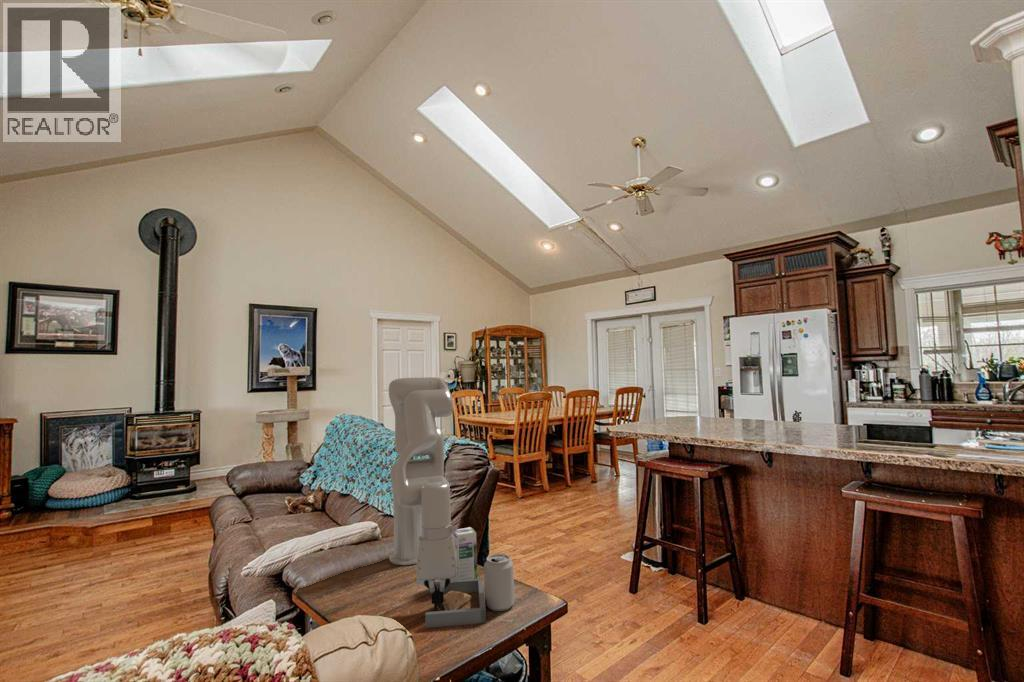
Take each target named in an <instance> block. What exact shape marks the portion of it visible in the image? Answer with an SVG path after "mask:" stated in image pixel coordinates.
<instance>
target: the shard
mask: <svg viewBox="0 0 1024 682" xmlns="http://www.w3.org/2000/svg"><path fill="white" fill-rule="evenodd" d="M471 600H472V595H470V594H469V593H463V592H458V591H453V590H452V591H450V592H448V593H447V594H444V603H441V605H442V606H443V609H444V611H447V610H459V609H460V608H462V607H464V605H465V604H466V603H469V602H470V601H471Z"/></svg>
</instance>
